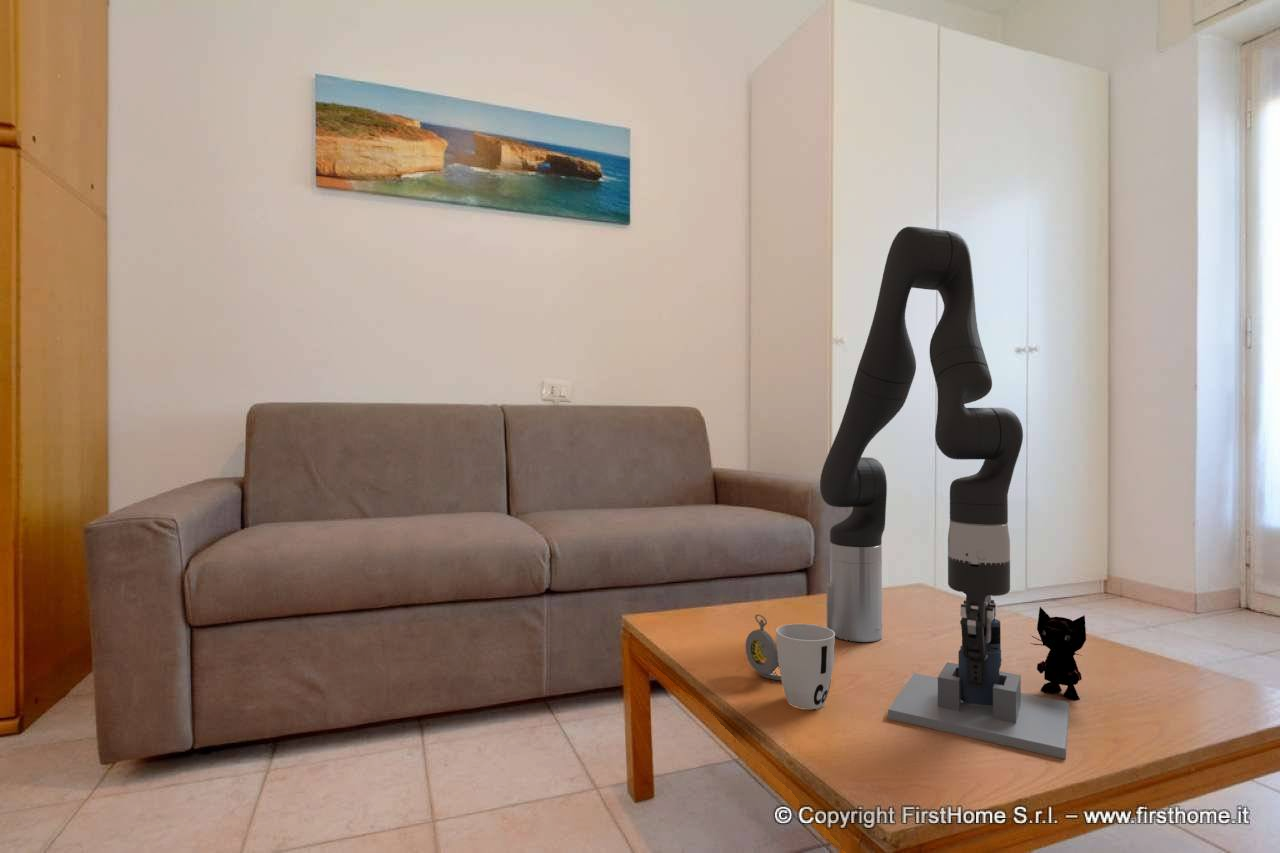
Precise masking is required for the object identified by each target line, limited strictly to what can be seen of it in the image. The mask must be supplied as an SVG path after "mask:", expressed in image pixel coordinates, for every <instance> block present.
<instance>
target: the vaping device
mask: <svg viewBox="0 0 1280 853" xmlns="http://www.w3.org/2000/svg"><path fill="white" fill-rule="evenodd" d="M1001 633H1002V632H1001V621H1000V620H999V619H996V616H995V614H994V620H993V621H992V640H991V642H990V643H988V644H987V655H988V659H987V661H986V687H985V689H979V688H974V687H970V686H969V685H968V683H967V658H966V657H964V655H963V642H962V641H961V645H960V647H959V650H958V664H959V677H960V678H961V700H962V701H963V702H965V703H968V704H978V705H990V706H993V686H994V684H998V685H999V671H1000V669H1001V666H1002V661H1003V660H1002V659H1003V658H1002V650H1001V649H1002V648H1001V642H1002V641H1001V639H1002V638H1001ZM984 636H986V634H984ZM971 649H977V650H980V648H979V647H978V646H975V645H971Z"/></svg>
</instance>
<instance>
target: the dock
mask: <svg viewBox="0 0 1280 853" xmlns="http://www.w3.org/2000/svg"><path fill="white" fill-rule="evenodd" d="M1021 678H1022V677H1021V674H1018V673H1011V672H1006V671H1005V672H1004V671H1000V670H999V685H998V684H994V686H993V706H990V705H978V704H968V703H965V702H963V701H962V700H961V678H960V677H959V663H954V662H949V661H946V662H945V664H944V666H943V668H942V669H941V671H940V673H939V675H938V676H933V675H928V674H921V673H916V672H913V674H912V675H911V677H910V678H909V680H907V682H906V684H904V686H903V688H902V689H901V690H900V692H899V693H898V695H897V696H896V697H895V699H894V700H893V702H892V703H891V705H890V706H889V707H888V708H887V719H889V720H894V721H898V722H903V723H906V724H907V723H908V724H911V725H915V726H920V727H925V728H928V729H931V730H932V729H934V730H938V731H942V732H945V733H950V734H954V735H959V736H963V737H968V738H971V739H976V740H980V741H985V742H990V743H993V744H998V745H1002V746H1006V745H1007V746H1008V747H1010V748H1011V747H1012V748H1015V749H1019V750H1024V751H1029V752H1033V753H1037V754H1042V755H1047V756H1050V757H1055V758H1058V759H1059V758H1060V759H1063V760H1066V757H1067V756H1066V755H1067V745H1068V744H1067V743H1068V742H1067V741H1068V729H1069V720H1070V719H1069V718H1070V717H1069V716H1070V702H1068V701H1064V700H1059V699H1054V698H1048V697H1045V696H1044V697H1043V696H1037V695H1032V694H1026V693H1022V692H1021V691H1022V686H1021V685H1022V683H1021V682H1022V681H1021V680H1022V679H1021ZM1007 746H1006V747H1007Z"/></svg>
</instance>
